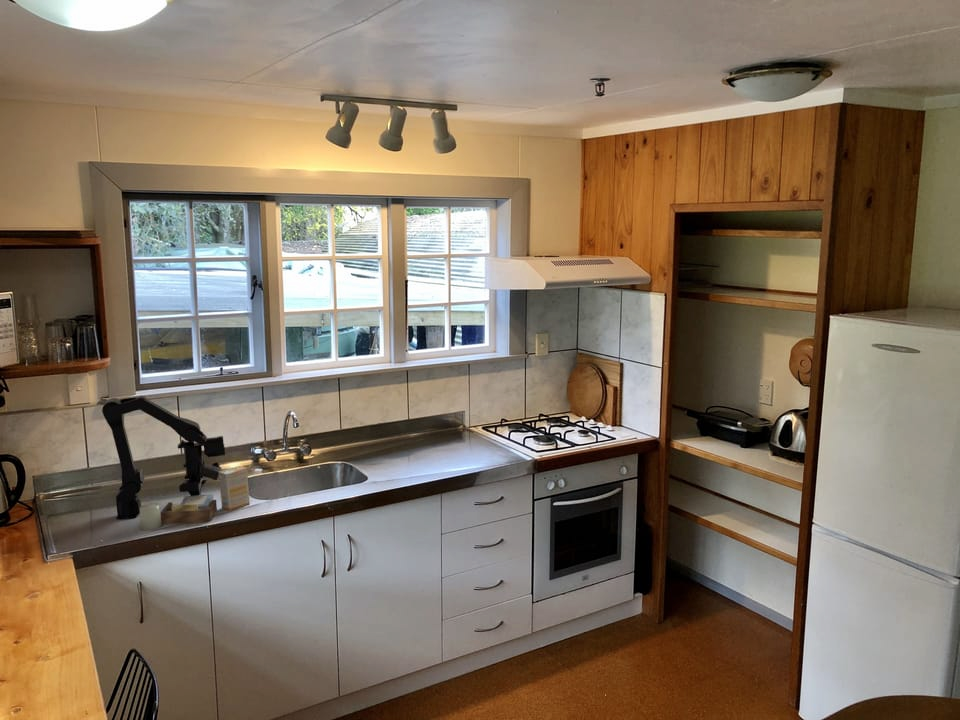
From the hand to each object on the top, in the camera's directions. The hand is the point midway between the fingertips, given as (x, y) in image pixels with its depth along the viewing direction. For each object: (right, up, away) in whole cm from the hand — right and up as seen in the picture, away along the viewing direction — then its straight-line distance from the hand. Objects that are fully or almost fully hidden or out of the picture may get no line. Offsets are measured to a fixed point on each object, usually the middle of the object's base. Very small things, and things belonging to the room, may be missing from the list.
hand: (197, 502), depth 260 cm
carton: (+3, -3, -7) cm, 8 cm away
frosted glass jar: (-8, -4, -18) cm, 20 cm away
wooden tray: (+1, -3, -10) cm, 11 cm away
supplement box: (+13, -1, 0) cm, 13 cm away
